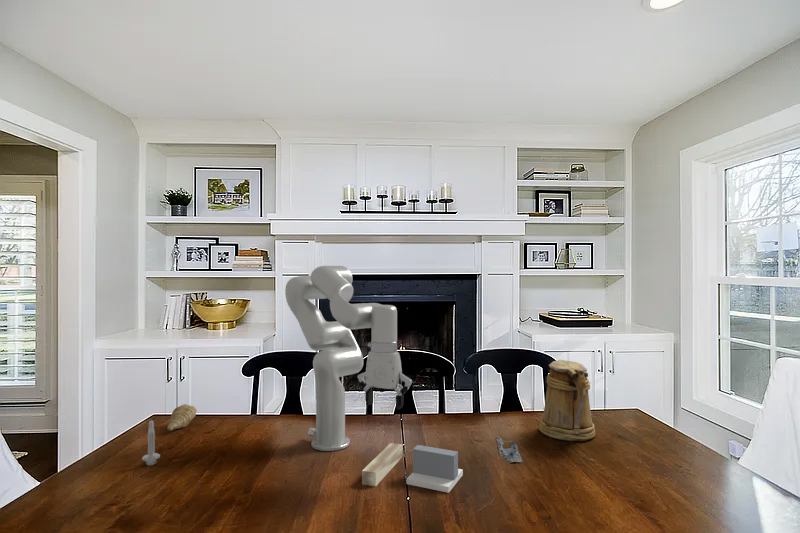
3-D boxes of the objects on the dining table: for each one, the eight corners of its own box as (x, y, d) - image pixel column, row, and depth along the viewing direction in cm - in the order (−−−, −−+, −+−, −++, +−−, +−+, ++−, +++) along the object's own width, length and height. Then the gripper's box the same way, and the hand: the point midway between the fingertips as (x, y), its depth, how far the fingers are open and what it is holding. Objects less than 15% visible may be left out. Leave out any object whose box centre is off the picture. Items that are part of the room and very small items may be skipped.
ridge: (406, 484, 128) (406, 454, 128) (423, 467, 139) (423, 440, 139) (448, 492, 123) (448, 461, 123) (462, 474, 134) (462, 446, 134)
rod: (362, 485, 128) (362, 470, 128) (390, 455, 149) (390, 442, 149) (375, 487, 127) (375, 472, 127) (402, 457, 148) (402, 444, 148)
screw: (156, 459, 146) (162, 463, 142) (139, 463, 142) (145, 468, 139) (156, 416, 146) (162, 420, 143) (139, 420, 142) (145, 423, 139)
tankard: (577, 423, 179) (577, 357, 179) (613, 446, 156) (612, 370, 156) (531, 425, 177) (531, 358, 177) (560, 449, 154) (560, 371, 154)
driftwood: (523, 466, 141) (523, 459, 142) (500, 465, 142) (500, 457, 142) (515, 442, 162) (515, 436, 162) (495, 441, 163) (495, 435, 163)
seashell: (183, 435, 167) (183, 412, 167) (159, 435, 167) (159, 412, 167) (198, 422, 181) (198, 401, 181) (176, 423, 181) (176, 402, 181)
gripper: (352, 347, 139) (351, 406, 139) (406, 351, 131) (406, 413, 131) (364, 343, 146) (364, 399, 145) (416, 347, 138) (416, 406, 138)
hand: (384, 406), depth 138 cm, fingers open, 9 cm apart
